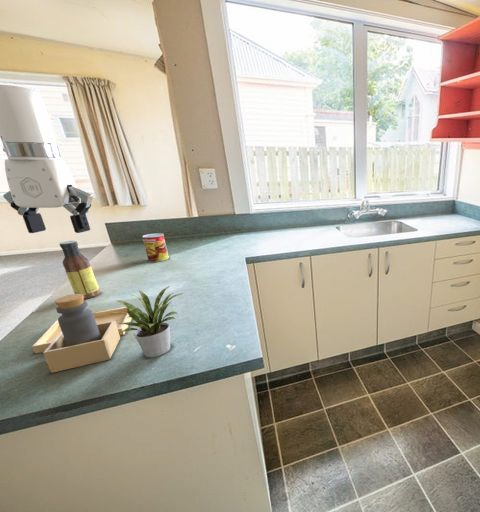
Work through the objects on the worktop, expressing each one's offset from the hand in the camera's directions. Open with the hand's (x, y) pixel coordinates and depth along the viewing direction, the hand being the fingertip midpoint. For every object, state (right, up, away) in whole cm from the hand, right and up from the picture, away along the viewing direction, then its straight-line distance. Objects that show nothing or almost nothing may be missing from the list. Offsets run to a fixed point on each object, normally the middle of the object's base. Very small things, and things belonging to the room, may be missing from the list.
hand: (60, 231), depth 68 cm
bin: (+1, -30, +6) cm, 31 cm away
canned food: (-34, -7, +74) cm, 82 cm away
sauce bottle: (-30, -20, +36) cm, 51 cm away
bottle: (+1, -30, +6) cm, 30 cm away
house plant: (+18, -30, +9) cm, 35 cm away
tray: (-9, -27, +16) cm, 32 cm away
